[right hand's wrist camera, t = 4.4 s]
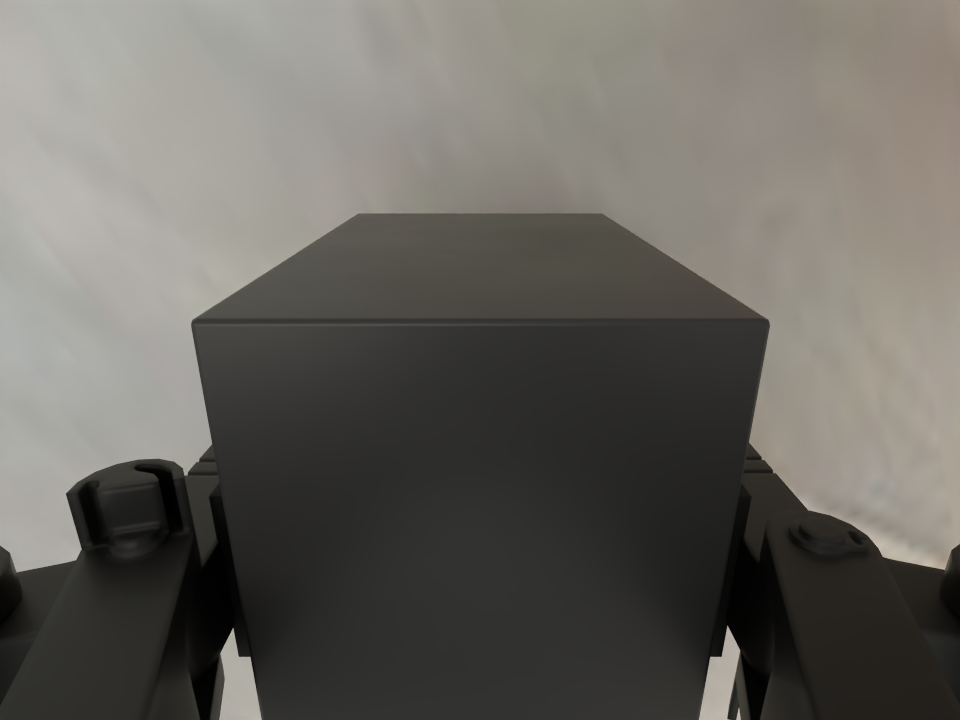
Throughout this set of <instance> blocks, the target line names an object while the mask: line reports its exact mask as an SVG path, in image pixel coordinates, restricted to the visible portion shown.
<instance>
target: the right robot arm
mask: <svg viewBox="0 0 960 720" xmlns="http://www.w3.org/2000/svg"><path fill="white" fill-rule="evenodd" d="M66 495H67V499H68V502H69V506H70V509H71V513H72V516H73V520H74V523H75V527H76V530H77V534H78V537H79V541H80V544H81V548H82V550H81V552H80V554H79V556H78V558H77V560H76V561H72V562H68V563H63V564H58V565H53V566H48V567H43V568H38V569H33V570H28V571H23V572H17V573H16V570H15V567H14V564H13V561H12V558H11V555H10V553H9V552H8V551H7V550H5V549H4V548H2V547H1V546H0V720H219V717H220V710H221V702H222V695H223V688H224V680H225V679H224V671H223V665H222V660H221V655H220V653H221V651H222V649H223V647H224V645H225V643H226V641H227V639H228V637H229V635H230V633H231V631H232V629H233V628H234V633H235V638H236V644H237V649H238V654H239V657H251V656H250V650H249V645H248V639H247V634H246V628H245V623H244V617H243V611H242V606H241V600H240V595H239V589H238V584H237V578H236V572H235V567H234V561H233V556H232V550H231V545H230V539H229V533H228V528H227V522H226V517H225V511H224V506H223V500H222V494H221V489H220V483H219V478H218V472H217V467H216V461H215V455H214V450H213V444H212V445H211V446H210V447H209V449H208V450H207V451H206V452H205V453H204V454H203V456H202V457H201V458H200V459H199V462H196V464H195V465H194V466H193V467H192V468H191V469H190V471H189V472H188V476H184V472H183V468H182V467H180V466H179V465H177V464H176V463H175V462H172V461H167V460H162V459H144V460H135V461H130V462H125V463H120V464H116V465H113V466H111V467H108V468H105V469H102V470H100V471H97V472H95V473H93V474H91V475H89V476H88V477H86V478H84V479H82V480H81V481H79V482H77V483H76V484H75V485H74V486H73V487H72V488H71V489H70V490H69V491H68V492H67V493H66ZM727 625H728V627H729V629H730V631H731V633H732V635H733V637H734V639H735V641H736V643H737V645H738V647H739V649H740V655H739V660H738V665H737V670H736V674H735V679H734V684H733V689H732V694H731V699H730V704H729V711H728V718H727V719H730V720H736V718H737V713H738V708H740V716H741V720H960V544H959V545H958V546H957V547H955V548H954V549H953V550H952V551H951V554H950V557H949V560H948V563H947V566H946V568H945V570H942V569H937V568H932V567H927V566H921V565H916V564H911V563H906V562H901V561H896V560H892V559H888V558H884V557H882V555H881V553H880V551H879V549H878V548H877V546H876V545H875V544H874V543H873V542H872V540H871V539H870V538H869V537H868V536H867V535H866V534H864V533H863V532H861V531H860V530H858V529H857V528H855V527H854V526H852V525H851V524H849V523H846V522H844V521H842V520H839V519H837V518H835V517H832V516H830V515H826V514H821V513H817V512H813V511H808V510H807V508H806V507H805V506H804V505H803V504H802V503H801V502H800V500H799V499H798V498H797V497H796V496H795V495H794V494H793V492H792V491H791V490H790V489H789V488H788V487H787V486H786V484H785V483H784V482H783V481H782V480H781V479H780V478H779V476H778V475H777V474H776V473H773V470H772V468H771V467H770V466H769V465H768V464H767V463H766V462H765V460H762V459H761V456H760V455H759V454H758V452H757V451H756V450H755V449H754V448H753V447H752V446H751V444H750V443H749V444H748V449H747V455H746V460H745V466H744V471H743V477H742V482H741V488H740V494H739V499H738V505H737V510H736V516H735V521H734V527H733V532H732V538H731V543H730V549H729V555H728V560H727V566H726V571H725V577H724V582H723V588H722V593H721V599H720V604H719V610H718V616H717V621H716V627H715V632H714V638H713V643H712V649H711V654H710V657H722V651H723V646H724V641H725V635H726V630H727Z"/></svg>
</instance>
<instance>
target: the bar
mask: <svg viewBox="0 0 960 720" xmlns="http://www.w3.org/2000/svg"><path fill="white" fill-rule="evenodd" d="M191 327H192V333H193V338H194V344H195V349H196V355H197V361H198V366H199V372H200V377H201V383H202V388H203V394H204V400H205V405H206V411H207V416H208V422H209V427H210V433H211V439H212V444H213V450H214V455H215V461H216V467H217V472H218V478H219V483H220V489H221V494H222V500H223V506H224V511H225V517H226V522H227V528H228V533H229V539H230V545H231V550H232V556H233V561H234V567H235V572H236V578H237V584H238V589H239V595H240V600H241V606H242V611H243V617H244V623H245V628H246V634H247V639H248V645H249V650H250V656H251V662H252V667H253V673H254V678H255V684H256V689H257V695H258V701H259V706H260V712H261V717H262V720H699V715H700V710H701V704H702V699H703V693H704V688H705V682H706V677H707V671H708V666H709V660H710V654H711V649H712V643H713V638H714V632H715V627H716V621H717V616H718V610H719V604H720V599H721V593H722V588H723V582H724V577H725V571H726V566H727V560H728V555H729V549H730V543H731V538H732V532H733V527H734V521H735V516H736V510H737V505H738V499H739V494H740V488H741V482H742V477H743V471H744V466H745V460H746V455H747V449H748V444H749V438H750V433H751V427H752V421H753V416H754V410H755V405H756V399H757V394H758V388H759V383H760V377H761V372H762V366H763V360H764V355H765V349H766V344H767V338H768V333H769V327H770V325H769V320H768V319H766V318H765V317H763V316H761V315H760V314H758V313H757V312H755V311H754V310H752V309H750V308H749V307H747V306H746V305H744V304H743V303H741V302H739V301H738V300H736V299H735V298H733V297H732V296H730V295H729V294H727V293H725V292H724V291H722V290H721V289H719V288H718V287H716V286H714V285H713V284H711V283H710V282H708V281H707V280H705V279H703V278H702V277H700V276H699V275H697V274H696V273H694V272H692V271H691V270H689V269H688V268H686V267H685V266H683V265H682V264H680V263H678V262H677V261H675V260H674V259H672V258H671V257H669V256H667V255H666V254H664V253H663V252H661V251H660V250H658V249H656V248H655V247H653V246H652V245H650V244H649V243H647V242H646V241H644V240H642V239H641V238H639V237H638V236H636V235H635V234H633V233H631V232H630V231H628V230H627V229H625V228H624V227H622V226H620V225H619V224H617V223H616V222H614V221H613V220H611V219H609V218H608V217H606V216H605V215H603V214H357V215H356V216H354V217H353V218H351V219H349V220H348V221H346V222H345V223H343V224H342V225H340V226H339V227H337V228H335V229H334V230H332V231H331V232H329V233H328V234H326V235H324V236H323V237H321V238H320V239H318V240H317V241H315V242H314V243H312V244H310V245H309V246H307V247H306V248H304V249H303V250H301V251H299V252H298V253H296V254H295V255H293V256H292V257H290V258H289V259H287V260H285V261H284V262H282V263H281V264H279V265H278V266H276V267H274V268H273V269H271V270H270V271H268V272H267V273H265V274H264V275H262V276H260V277H259V278H257V279H256V280H254V281H253V282H251V283H249V284H248V285H246V286H245V287H243V288H242V289H240V290H239V291H237V292H235V293H234V294H232V295H231V296H229V297H228V298H226V299H224V300H223V301H221V302H220V303H218V304H217V305H215V306H213V307H212V308H210V309H209V310H207V311H206V312H204V313H203V314H201V315H199V316H198V317H196V318H195V319H193V320H192V324H191Z"/></svg>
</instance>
